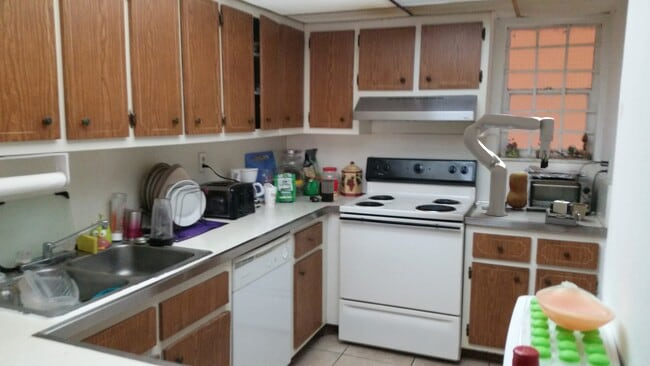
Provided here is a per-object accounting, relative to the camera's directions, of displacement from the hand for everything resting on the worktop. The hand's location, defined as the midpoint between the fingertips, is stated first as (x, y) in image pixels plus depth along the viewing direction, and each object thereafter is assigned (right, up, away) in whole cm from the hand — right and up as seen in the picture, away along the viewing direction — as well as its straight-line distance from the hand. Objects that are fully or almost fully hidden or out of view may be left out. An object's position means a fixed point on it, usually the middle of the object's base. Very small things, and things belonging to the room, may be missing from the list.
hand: (544, 167), depth 306 cm
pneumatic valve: (+5, -31, -10) cm, 33 cm away
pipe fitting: (+5, -32, -11) cm, 34 cm away
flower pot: (+22, -31, +3) cm, 38 cm away
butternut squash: (-4, -27, +32) cm, 42 cm away
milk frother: (-133, -22, +51) cm, 144 cm away
